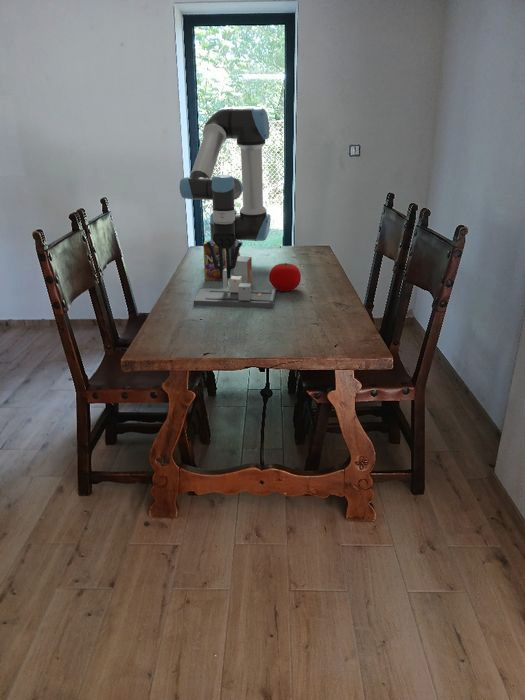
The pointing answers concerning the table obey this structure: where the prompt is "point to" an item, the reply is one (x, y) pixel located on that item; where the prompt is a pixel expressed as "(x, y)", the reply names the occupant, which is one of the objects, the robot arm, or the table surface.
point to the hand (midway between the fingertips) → (225, 286)
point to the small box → (244, 268)
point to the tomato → (285, 277)
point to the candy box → (209, 268)
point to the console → (235, 298)
